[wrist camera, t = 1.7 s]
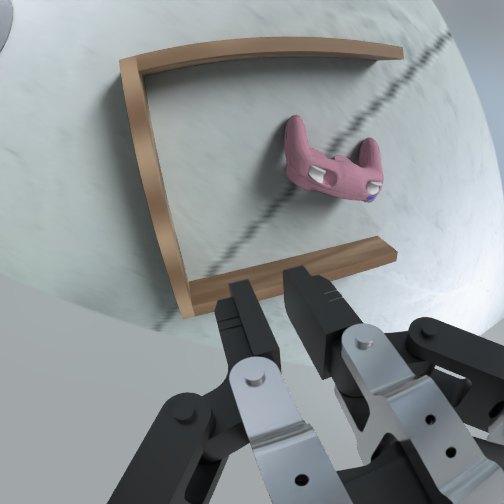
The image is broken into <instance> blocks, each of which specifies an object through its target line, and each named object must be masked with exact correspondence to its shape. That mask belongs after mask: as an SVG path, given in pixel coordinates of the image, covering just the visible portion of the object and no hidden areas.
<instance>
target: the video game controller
mask: <svg viewBox="0 0 504 504" xmlns="http://www.w3.org/2000/svg"><path fill="white" fill-rule="evenodd" d="M284 148H285V155H286V161H287V167H286V175H287V177H288V178H289V179H290V180H291V181H292V182H293V183H294V184H296V185H298V186H299V187H301V188H303V189H306V190H311V191H316V190H318V191H320V192H323V193H326V194H329V195H331V196H335V197H339V198H343V199H349V200H361V201H364V202H372V201H374V199H375V198H376V196H377V195H378V193H379V192H380V190H381V188H382V184H383V172H382V166H381V158H380V151H379V147H378V145H377V143H376V141H375V140H374V139H372V138H367V139H365V140H364V141H363V143H362V145H361V148H360V153H359V166H358V165H356V164H354V163H352V162H351V161H350V160H349V159H348V158H346V157H344V156H341V155H336V156H335V157H334V159H333V160H332V159H329V158H327V157H326V156H325V155H324V154H323V153H322V152H320V151H319V150H316V149H314V148H309V146H308V142H307V138H306V132H305V126H304V123H303V121H302V119H301V117H300V116H298V115H293V116H291V117H290V119H289V120H288V121H287V124H286V128H285V137H284Z"/></svg>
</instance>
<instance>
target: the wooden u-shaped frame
mask: <svg viewBox="0 0 504 504" xmlns="http://www.w3.org/2000/svg"><path fill="white" fill-rule="evenodd" d="M301 56H310V57H342V58H357V59H369V60H399V59H404V56H403V47H398V46H392V45H386V44H380V43H373V42H366V41H357V40H347V39H336V38H319V37H259V38H242V39H231V40H221V41H212V42H204V43H197V44H191V45H185V46H179V47H173V48H168V49H163V50H158V51H154V52H149V53H145V54H141V55H137V56H133V57H129V58H125V59H121V60H119V64H120V71H121V77H122V84H123V90H124V96H125V102H126V107H127V113H128V118H129V123H130V129H131V134H132V138H133V143H134V148H135V153H136V157H137V162H138V166H139V170H140V175H141V179H142V183H143V187H144V191H145V195H146V199H147V203H148V207H149V211H150V214H151V218H152V222H153V225H154V229H155V233H156V236H157V240H158V243H159V247H160V250H161V253H162V257H163V260H164V263H165V267H166V270H167V273H168V276H169V279H170V282H171V286H172V289H173V292H174V295H175V298H176V301H177V304H178V307H179V310H180V312H181V315H182V318H183V319H185V318H189V317H193V316H198V315H202V314H206V313H211V312H214V310H215V307H216V304H217V301H218V300H221V299H225V298H229V297H231V295H230V290H229V284H228V283H232V282H236V281H240V280H244V279H249V281H250V284H251V286H252V288H253V291H254V293H255V295H256V297H257V300H258V301H259V300H263V299H267V298H271V297H275V296H279V295H282V294H284V289H283V275H282V274H283V270H285V269H289V268H293V267H297V266H301V265H303V266H304V267H305V268H306V270H307V271H308V272H309V274H310V275H311V276H315V275H320V276H322V277H324V278H326V279H328V280H329V281H333V280H336V279H339V278H343V277H346V276H350V275H353V274H356V273H360V272H363V271H366V270H370V269H373V268H376V267H379V266H382V265H386V264H389V263H392V262H395V261H396V259H397V253H398V252H397V251H396V250H395V249H394V248H392V247H391V246H390V245H389V244H387V243H386V242H385V241H383V240H382V239H381V238H380V237H378V236H375V237H371V238H367V239H364V240H360V241H356V242H352V243H348V244H344V245H340V246H336V247H332V248H328V249H324V250H320V251H316V252H312V253H308V254H304V255H300V256H295V257H291V258H287V259H283V260H279V261H275V262H271V263H267V264H263V265H258V266H254V267H250V268H246V269H242V270H237V271H233V272H229V273H225V274H221V275H216V276H212V277H208V278H203V279H199V280H195V281H191V282H189V281H188V278H187V274H186V271H185V267H184V263H183V260H182V256H181V252H180V248H179V245H178V241H177V237H176V233H175V229H174V225H173V221H172V217H171V213H170V209H169V204H168V200H167V196H166V191H165V187H164V183H163V178H162V174H161V169H160V164H159V159H158V155H157V150H156V145H155V140H154V134H153V129H152V124H151V118H150V113H149V107H148V101H147V95H146V89H145V83H144V76H145V75H149V74H154V73H158V72H163V71H167V70H172V69H178V68H183V67H189V66H195V65H201V64H208V63H215V62H223V61H231V60H241V59H253V58H268V57H301Z"/></svg>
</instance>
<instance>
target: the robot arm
mask: <svg viewBox="0 0 504 504" xmlns="http://www.w3.org/2000/svg"><path fill="white" fill-rule="evenodd" d="M12 19H13V7H12V3H11V1H10V0H0V51H1V49H2V47H3V46H4V44H5V41H6V39H7V37H8V35H9V31H10V28H11V25H12ZM282 275H283V289H284V303H285V308H286V312H287V315H288V317H289V319H290V321H291V323H292V324H293V326H294V328H295V330H296V332H297V334H298V336H299V338H300V339H301V341H302V343H303V345H304V347H305V349H306V351H307V352H308V354H309V356H310V358H311V360H312V362H313V364H314V366H315V367H316V369H317V371H318V373H319V375H320V377H321V378H322V380H324V379H327V378H329V377H332V379H333V380H334V382H335V388H334V391H335V395H336V397H337V399H338V401H339V403H340V405H341V407H342V409H343V411H344V413H345V415H346V417H347V419H348V421H349V423H350V425H351V427H352V429H353V432H354V434H355V436H356V439H357V449H358V453H359V455H360V458H361V460H362V462H363V464H364V466H362V467H357V468H352V469H346V470H341V471H336V470H335V469H334V467H333V465H332V463H331V461H330V459H329V457H328V455H327V453H326V452H325V449H324V448H323V446H322V444H321V442H320V440H319V438H318V436H317V434H316V432H315V430H314V429H313V427H312V426H311V425H310V424H307V423H305V421H304V420H303V418H302V416H301V414H300V412H299V410H298V408H297V406H296V404H295V402H294V400H293V398H292V395H291V393H290V391H289V389H288V387H287V385H286V383H285V381H284V379H283V377H282V375H281V362H280V350H279V347H278V344H277V342H276V340H275V338H274V335H273V333H272V331H271V329H270V327H269V324H268V322H267V320H266V318H265V315H264V313H263V311H262V309H261V306H260V304H259V302H258V300H257V297H256V295H255V293H254V291H253V288H252V286H251V284H250V281H249V279H244V280H240V281H236V282H232V283H228V284H229V290H230V295H231V297H229V298H225V299H221V300H218V301H217V304H216V307H215V310H214V312H215V316H216V320H217V324H218V328H219V332H220V336H221V340H222V344H223V348H224V351H225V355H226V359H227V363H228V374H227V377H226V379H225V380H224V382H223V383H222V384H221V385H220V386H219V387H218V388H216V389H214V390H213V391H211V392H209V393H207V394H205V395H204V396H200V395H198V394H195V393H181V394H178V395H175V396H173V397H171V398H170V399H169V400H167V401H166V402H165V404H164V405H163V407H162V408H161V410H160V412H159V414H158V415H157V417H156V419H155V421H154V422H153V424H152V426H151V428H150V429H149V431H148V433H147V435H146V436H145V438H144V440H143V442H142V443H141V445H140V447H139V449H138V451H137V452H136V454H135V456H134V457H133V459H132V461H131V463H130V464H129V466H128V468H127V470H126V471H125V473H124V475H123V477H122V478H121V480H120V482H119V483H118V485H117V487H116V489H115V490H114V492H113V494H112V496H111V497H110V499H109V501H108V503H107V504H209V502H210V499H211V497H212V495H213V492H214V490H215V488H216V486H217V483H218V481H219V478H220V476H221V474H222V471H223V469H224V466H225V464H226V462H227V459H228V457H229V455H230V454H231V453H233V452H235V451H237V450H238V449H240V448H242V447H243V446H245V445H247V444H248V443H250V444H251V447H252V450H253V453H254V455H255V459H256V461H257V464H258V467H259V469H260V472H261V475H262V477H263V480H264V483H265V485H266V488H267V491H268V493H269V496H270V498H271V500H272V503H273V504H504V346H503V345H500V344H498V343H495V342H492V341H490V340H487V339H485V338H482V337H480V336H477V335H475V334H472V333H469V332H467V331H464V330H462V329H459V328H457V327H454V326H452V325H449V324H446V323H444V322H441V321H439V320H436V319H433V318H429V317H422V318H418V319H416V320H414V321H413V322H412V323H411V324H410V327H409V330H408V331H403V332H395V333H383V332H382V331H381V330H380V329H379V328H378V327H376V326H373V325H370V324H364V323H363V322H362V321H361V319H360V318H359V317H358V316H357V314H356V313H355V312H354V310H353V309H352V308H351V307H350V305H349V304H348V303H347V302H346V300H345V299H344V298H342V295H341V294H340V293H339V292H338V291H337V289H336V288H335V287H334V285H333V284H332V283H331V282H330V281H329V280H328V279H326V278H324V277H322V276H320V275H315V276H311V275H310V274H309V272H308V271H307V270H306V268H305V267H304V266H303V265H301V266H297V267H293V268H289V269H285V270H283V274H282ZM435 365H437V366H439V367H442V368H444V369H446V370H449V371H451V372H454V373H456V374H459V375H461V376H463V377H466V379H459V378H456V377H454V376H451V375H449V374H446V373H444V372H442V371H439V370H437V369H435V368H434V367H435ZM464 423H465V424H468V425H470V426H473V427H475V428H478V429H480V430H483V431H486V432H488V433H489V435H488V436H487V441H486V440H483V439H479V438H476V437H473V436H471V434H470V432H469V431H468V429H467V428H466V426H465V425H464Z"/></svg>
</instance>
